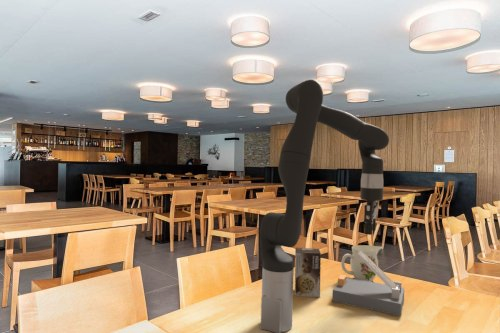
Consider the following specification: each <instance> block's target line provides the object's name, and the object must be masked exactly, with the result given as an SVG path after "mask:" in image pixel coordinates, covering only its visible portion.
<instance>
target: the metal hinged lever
mask: <svg viewBox="0 0 500 333" xmlns="http://www.w3.org/2000/svg"><path fill="white" fill-rule="evenodd" d="M357 256H358V257H359V258H360V259H361V260H362V261H363V262H364V263H365V264H366V265H367V266H368V267H369V268H370V269H371V270H372V271H373V272H374V273H375V274H376V277H378V278H379V279H380V280H381V281H382V282H383V284H386V285H387V286H388V287H389V288H390V289H391V290H392V288H394V289H400V286H399V285H396V284H395V283H394V280H392V278H390V277H389V276H388V275H387V274H386V273H385V272H384V271H383V270H382V269H381V268H380V267H379V265H378V266H377V265H376V264H375V263H374V262H373V261H372V260H371V259H370V258H369V257H367V256H366V255H365V254H364V253H363V252H362V251H361V250H360V251H359V252H358V254H357Z"/></svg>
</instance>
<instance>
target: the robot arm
mask: <svg viewBox="0 0 500 333" xmlns="http://www.w3.org/2000/svg"><path fill="white" fill-rule="evenodd" d="M323 101H324V90H323V87H322V85H321V84H320V82H319V81H317V80H315V79H307V80H305V81H302V82H300V83H299V84H296V85H294V86H293V87H291V88H290V89H289V90H288V91H287V92H286V95H285V104H286V105H287V108H288V109H289V110H290V111H291V112H293V113H295V114H296V115H295V120H294V123H293V125H292V127H291V129H290V131H289V133H288V134H287V136H286V138H285V139H284V142H283V144H282V146H281V150H280V154H279V160H278V167H277V170H278V175H279V179H280V181H281V184H282V186H283V189H284V191H285V196H286V206H285V211H284V212H285V213H280V212H272V211H270V212H268V213H266V214H265V215H264V216H263V218H262V219H261V223H260V229H259V235H260V236H259V239H260V240H259V242H260V258H261V261H262V274H261V276H262V277H261V280H262V281H261V303H260V329H261V330H265V331H268V332H270V333H271V332H272V333H284V332H287V331H289V330H291V329H292V328H293V304H294V303H293V302H294V299H293V298H294V277H295V260H294V257H292V256H291V255H289V254H288V253H287V252H286V251H285V250H284V249H283V247H286V248H293V247H295V246H296V245H297V244H298V242H299V239H300V237H301V233H302V225H303V224H302V221H303V214H304V213H303V210H304V200H305V191H306V184H307V180H308V179H307V178H308V175H309V174H308V173H309V169H310V164H311V157H312V149H313V146H314V145H313V144H314V138H315V133H316V128H317V123H320V124H323V125H325V126H327V127H329V128H331V129H333V130H334V131H337V132H339V133H341V134H342V135H344V136H346V137H347V138H349V139H351V140H354V141H358V142H357V143H358V151H359V154H360V159H361V177H360V199H361V200H363V201H366V204H365V205H364V207H363V208H364V210H363V211H364V215H363V216H364V218H363V222H364V224H365V235H367V236H368V235H369V236H372V235H373V232H375V231H376V226H377V224H376V222H377V220H378V213H379V212H378V209H379V203H378V202H380V201H383V200H384V160H383V157H382V158H381V157H380V156H377V154H376V151H380V150H384V149H385V148H387V147H388V146H389V142H390V138H389V134H388V132H386V131H385V130H383V129H382V128H381V127H378V126H375V125H373V124H370V123H368V122H365V121H363V120H361V119H360V118H358V117H356V116H355V115H353V114H352V113H349V112H346V111H345V110H341V109H337V108H332V107H329V106H327V105H325V104H323Z"/></svg>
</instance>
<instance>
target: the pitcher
mask: <svg viewBox="0 0 500 333" xmlns="http://www.w3.org/2000/svg"><path fill="white" fill-rule="evenodd" d="M383 248H384V247H383V246H380V245H368V244H367V245H365V244H363V245H362V244H359V245H353V246H351V252H352V254H350V253H345V254H344V255H343V256H342V258H341V261H340V262H341V263H340V264H341V268H342V270H343V271H344V273H346V274H347V275H351V276H353V277H354V279H359V280H365V281H370V282H373V280H375V278H376V277H377V275H376V274H375V273H374V272H373V271H372V270H371V269H370V268H369V267H368V266H367V265H366V264H365V263H364V262H363V261H362V260H361V259H360V258H359V257H358V256H357V254H358V252H359V251H360V250H361V251H362V252H363V253H364V254H365V255H366V256H367V257H369V258H370V259H371V260H372V261H373V262H374V263H375V264H376V265H377V266H378V267H379V259H378V253H379V252H380V251H381V250H382V249H383ZM347 258H350V260H349V261H350V264H349V265H350V270H351V271H350V270H348V269H347V268H346V266H345V261H346V259H347Z"/></svg>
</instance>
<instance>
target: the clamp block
mask: <svg viewBox="0 0 500 333" xmlns="http://www.w3.org/2000/svg"><path fill="white" fill-rule="evenodd" d="M393 282H394V283H395V284H396V285H399V286H400V289H394V288H392V290H391V289H390V288H389V287H388V286H387V285H386V284H385V283H380V282H375V281H372V282H370V281H365V280H359V279H355V278H353V277H349V276H347V281H346V283H345V285H344V286H339V285H338V283H336V285H335V286H334V287H333V289H332V300H331V301H332V302H334V303H338V304H343V305H347V306H348V305H349V306H353V307H357V308H361V309H366V310H370V311H375V312H380V313H383V314H384V313H385V314H388V315H394V316H399V317H401V315H402V311H403V306H404V301H405V287H403V286H402V285H403V284H402V283H403V282H402V281H394V280H393Z"/></svg>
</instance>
